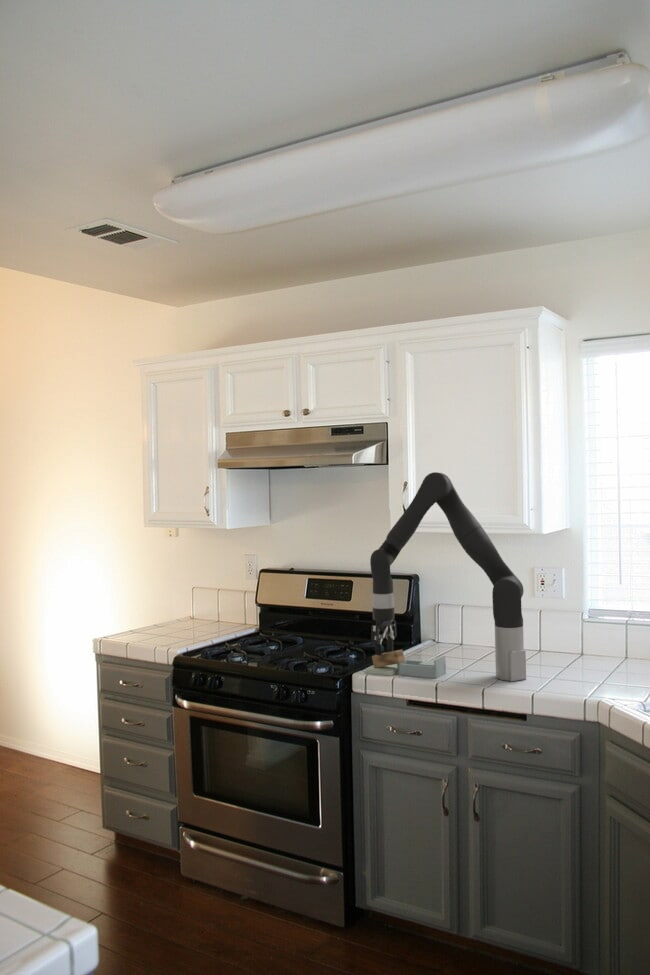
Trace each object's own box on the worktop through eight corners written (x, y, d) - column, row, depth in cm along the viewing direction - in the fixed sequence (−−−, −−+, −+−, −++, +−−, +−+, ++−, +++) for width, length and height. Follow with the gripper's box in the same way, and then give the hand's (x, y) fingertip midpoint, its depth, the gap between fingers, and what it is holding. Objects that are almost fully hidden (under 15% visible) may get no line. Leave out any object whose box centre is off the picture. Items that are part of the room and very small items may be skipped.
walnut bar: (405, 660, 289) (402, 649, 289) (399, 663, 285) (396, 651, 285) (380, 665, 294) (377, 654, 294) (374, 667, 290) (371, 656, 291)
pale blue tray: (445, 673, 284) (445, 655, 284) (436, 678, 278) (435, 660, 278) (407, 669, 292) (406, 652, 292) (397, 674, 285) (396, 656, 285)
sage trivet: (404, 669, 292) (404, 666, 292) (391, 675, 283) (391, 671, 283) (378, 666, 297) (378, 663, 297) (365, 672, 289) (365, 669, 289)
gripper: (383, 609, 282) (384, 657, 282) (402, 603, 294) (403, 650, 294) (363, 608, 286) (364, 655, 286) (383, 602, 298) (384, 648, 298)
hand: (384, 652), depth 290 cm, fingers open, 8 cm apart
